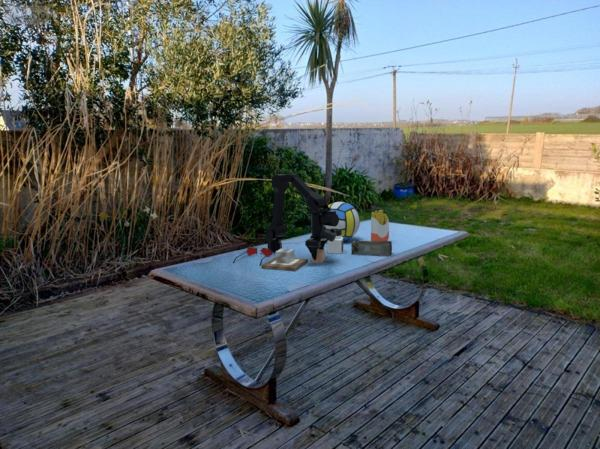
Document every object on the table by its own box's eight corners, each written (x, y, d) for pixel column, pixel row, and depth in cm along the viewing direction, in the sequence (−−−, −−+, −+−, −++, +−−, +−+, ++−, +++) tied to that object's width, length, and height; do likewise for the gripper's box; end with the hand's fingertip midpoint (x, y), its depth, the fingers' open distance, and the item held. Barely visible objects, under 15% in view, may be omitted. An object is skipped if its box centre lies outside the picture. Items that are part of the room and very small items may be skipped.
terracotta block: (311, 262, 196) (311, 251, 195) (314, 259, 200) (314, 249, 199) (321, 262, 194) (321, 252, 193) (325, 260, 199) (324, 249, 198)
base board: (261, 268, 187) (260, 253, 185) (276, 259, 201) (275, 245, 200) (295, 271, 181) (295, 255, 180) (308, 261, 196) (307, 247, 195)
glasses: (273, 257, 207) (273, 247, 206) (260, 266, 191) (259, 255, 190) (247, 256, 211) (246, 246, 210) (232, 264, 196) (231, 254, 195)
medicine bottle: (341, 253, 209) (341, 230, 207) (327, 253, 211) (327, 229, 209) (343, 250, 216) (343, 227, 214) (329, 250, 218) (329, 227, 216)
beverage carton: (353, 251, 215) (353, 238, 214) (392, 253, 210) (392, 240, 209) (351, 255, 208) (351, 241, 207) (391, 257, 202) (391, 243, 201)
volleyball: (365, 238, 243) (366, 200, 240) (348, 246, 225) (348, 205, 222) (332, 235, 255) (331, 199, 251) (313, 242, 237) (312, 203, 233)
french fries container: (389, 242, 233) (389, 210, 229) (377, 245, 225) (378, 212, 222) (382, 241, 236) (382, 209, 233) (370, 244, 228) (370, 211, 225)
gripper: (328, 228, 183) (329, 263, 185) (340, 221, 200) (340, 253, 203) (304, 227, 187) (305, 262, 189) (317, 220, 204) (318, 252, 207)
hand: (318, 257), depth 197 cm, fingers open, 9 cm apart
